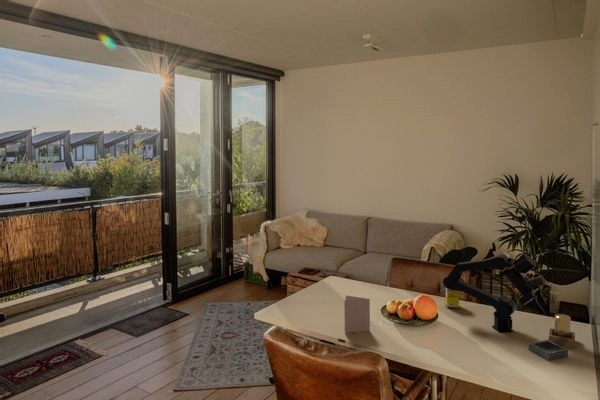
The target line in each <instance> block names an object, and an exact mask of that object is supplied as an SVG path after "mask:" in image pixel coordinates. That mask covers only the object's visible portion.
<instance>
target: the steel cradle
mask: <svg viewBox="0 0 600 400" xmlns="http://www.w3.org/2000/svg"><path fill="white" fill-rule="evenodd" d="M527 350H528V351H529V352H531V353H533V354H535V355H536V356H538V357H540V358H541V359H544V360H545V361H547V362H550V361H551V362H552V361H555V360H561V359H566V358H568V357H569V349H568V348H567V347H563V346H560V345H558V344H556V343H554V342H552V341H550V340H549V339H544V340H539V341H531V342H529V343H528V348H527Z"/></svg>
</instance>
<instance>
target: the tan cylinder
mask: <svg viewBox="0 0 600 400" xmlns="http://www.w3.org/2000/svg"><path fill="white" fill-rule="evenodd" d="M571 320H572V319H571V316H569V315H568V314H563V313H556V314H555V315H554V327H553V329H554V336H559V337H564V338H570V331H571Z"/></svg>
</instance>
